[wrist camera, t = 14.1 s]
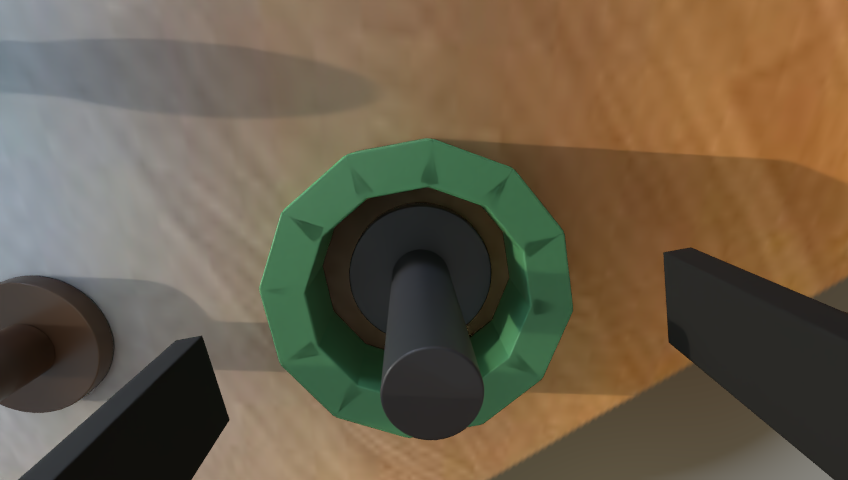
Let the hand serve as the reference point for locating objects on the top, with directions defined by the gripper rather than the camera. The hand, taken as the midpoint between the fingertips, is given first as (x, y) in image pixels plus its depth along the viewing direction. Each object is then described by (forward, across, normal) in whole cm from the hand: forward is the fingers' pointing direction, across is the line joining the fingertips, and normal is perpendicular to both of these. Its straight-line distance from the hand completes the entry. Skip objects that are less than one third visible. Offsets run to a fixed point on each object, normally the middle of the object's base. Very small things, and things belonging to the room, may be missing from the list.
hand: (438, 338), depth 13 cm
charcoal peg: (+8, 0, 0) cm, 8 cm away
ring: (+7, -1, 0) cm, 7 cm away
